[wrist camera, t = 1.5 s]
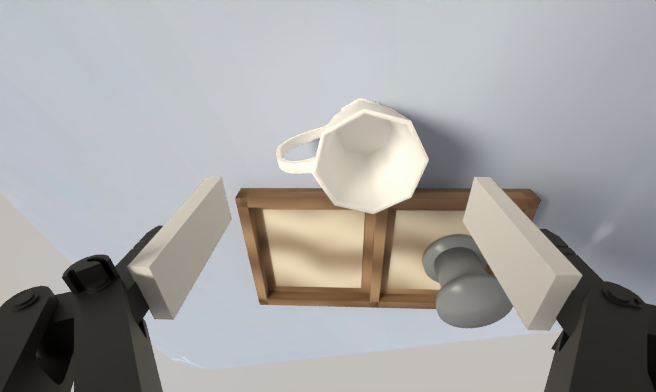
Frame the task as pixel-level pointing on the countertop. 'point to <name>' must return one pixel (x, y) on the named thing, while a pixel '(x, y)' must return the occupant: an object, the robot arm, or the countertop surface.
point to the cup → (362, 157)
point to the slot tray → (350, 246)
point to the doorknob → (464, 283)
